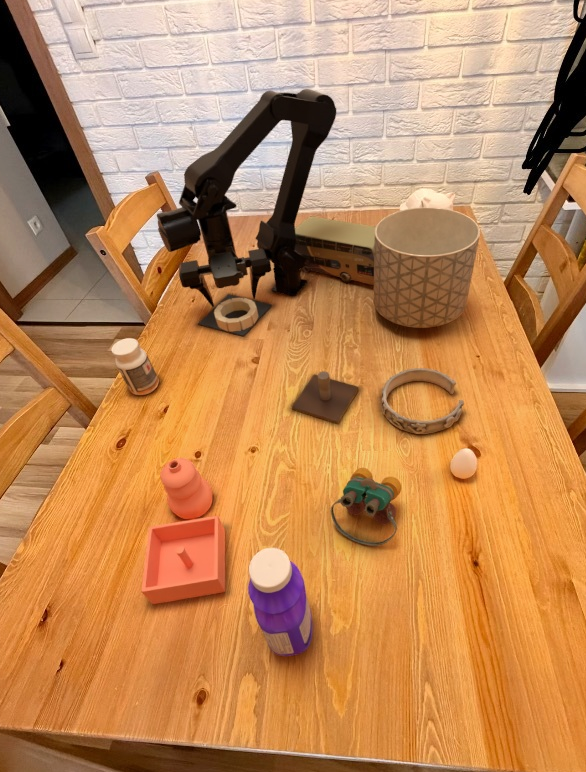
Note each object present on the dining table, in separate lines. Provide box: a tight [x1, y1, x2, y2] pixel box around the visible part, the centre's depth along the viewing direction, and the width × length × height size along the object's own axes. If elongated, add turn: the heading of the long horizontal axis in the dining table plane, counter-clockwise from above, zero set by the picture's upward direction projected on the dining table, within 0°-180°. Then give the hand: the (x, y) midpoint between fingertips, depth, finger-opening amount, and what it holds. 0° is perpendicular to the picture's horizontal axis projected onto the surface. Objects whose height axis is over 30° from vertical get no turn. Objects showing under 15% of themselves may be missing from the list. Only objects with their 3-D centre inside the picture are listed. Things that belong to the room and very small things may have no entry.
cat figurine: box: [399, 187, 456, 211], centre depth 109 cm, size 25×10×17 cm, turn 8°
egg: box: [449, 447, 478, 480], centre depth 68 cm, size 4×4×6 cm
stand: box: [291, 370, 360, 425], centre depth 80 cm, size 9×9×6 cm
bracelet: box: [381, 367, 465, 435], centre depth 79 cm, size 14×14×3 cm
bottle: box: [247, 547, 314, 657], centre depth 50 cm, size 7×6×17 cm
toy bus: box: [295, 216, 376, 286], centre depth 108 cm, size 10×23×10 cm, turn 58°
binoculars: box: [330, 467, 402, 547], centre depth 62 cm, size 9×9×10 cm
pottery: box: [141, 457, 226, 605], centre depth 63 cm, size 18×10×10 cm, turn 8°
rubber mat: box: [197, 294, 273, 337], centre depth 102 cm, size 12×12×1 cm
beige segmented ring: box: [214, 296, 259, 332], centre depth 100 cm, size 9×9×2 cm
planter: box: [373, 207, 481, 329], centre depth 91 cm, size 19×19×18 cm
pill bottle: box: [111, 337, 160, 396], centre depth 85 cm, size 6×6×10 cm
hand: (233, 301), depth 103 cm, fingers open, 9 cm apart
